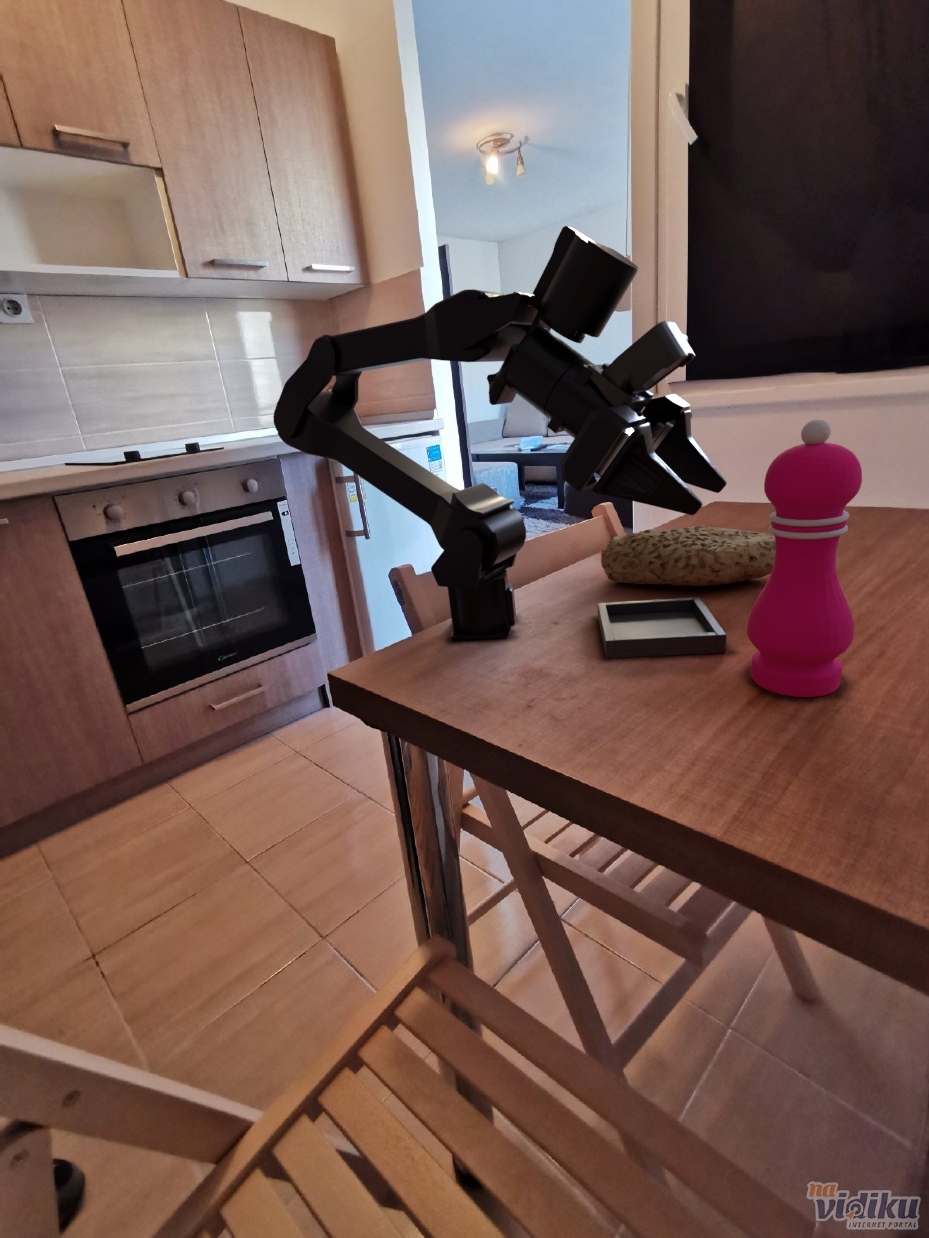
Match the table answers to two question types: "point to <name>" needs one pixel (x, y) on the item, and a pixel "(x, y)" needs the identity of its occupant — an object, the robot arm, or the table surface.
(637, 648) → the shallow square tray
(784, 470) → the pepper mill
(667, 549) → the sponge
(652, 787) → the table surface
